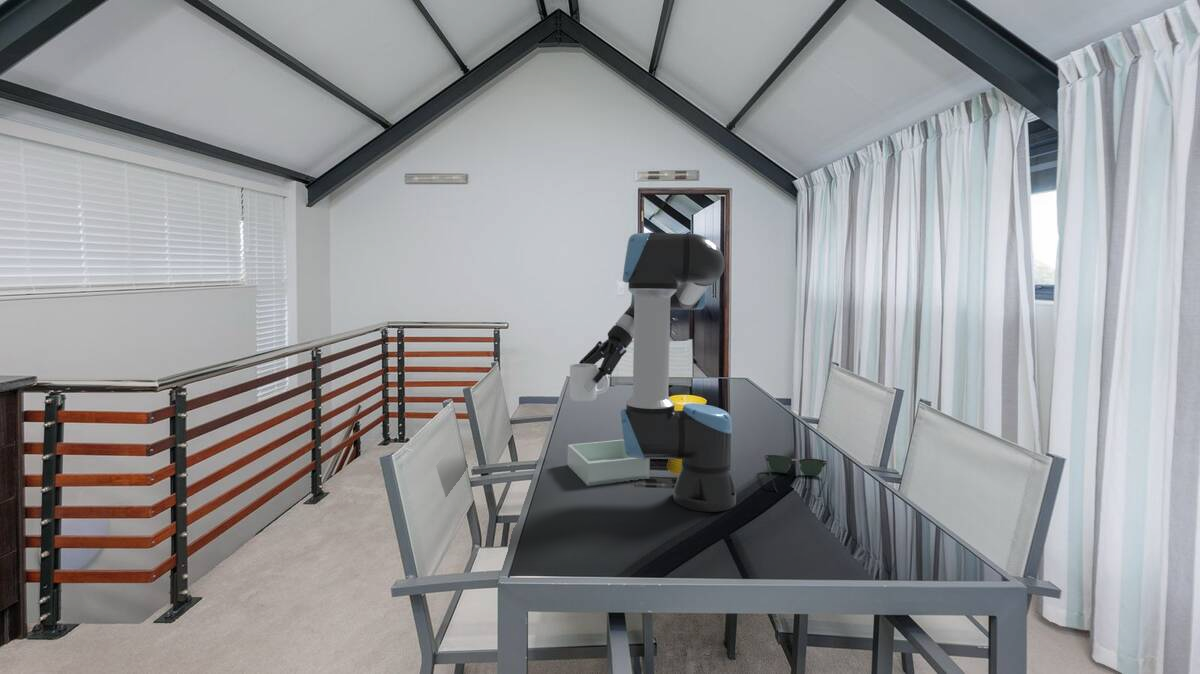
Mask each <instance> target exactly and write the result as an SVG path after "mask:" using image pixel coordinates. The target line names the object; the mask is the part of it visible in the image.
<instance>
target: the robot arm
mask: <svg viewBox="0 0 1200 674" xmlns="http://www.w3.org/2000/svg"><path fill="white" fill-rule="evenodd" d="M724 257H725V256H724V255H723V252H722V251H721V249H720V248H719V247H718V246H717V244H715V242H713V241H712V240H710V239H709V238H707V237H705V236H703V235H700V234H697V233H690V232H689V233H678V232H677V233H672V232H642V233H641V232H639V233H634V234H631V235H630V236H629V238H628V241H627V246H626V253H625V259H624V266H623V272H622V273H623V275H622V281H623V282H624V283H626V284H627V283H628V291H629V293H631V300H630V301H631V302H630V305H629V307H628V308H627V309H626V310H625V312H624V313H623V314H622V315H621V316H620V317H619V318H618V320H617V321H616V322H615V324H614V325H613V326H612V327H611V329H609V331H608V332H607V337H608V338H607V339H606V340H605V341H604V342H602V340H599V341H598V342H596V344H595V346H594V347H593V348H591V350H590V351H589V352H587V354H586V355H585V356H584V357H583V358H581V359H580V360H579V362H578V364H595V365H596V363H598V362H599V361H600V360H602V359H603V360H602V362H601V364H600V366H599V367H597V370H596V371H595V372H594V374H593V375H592V376H591V377H590V379H589V380H588V381H587V382H586V383H585V385H584V386H583V387H584V388H585V389H586V390H587V391H588V392H591V391H592V389H593V388H594V387H595V386H596V384H597V385H598V384H599V382H600V381H601V380H602V378H603V376H605V375H607V376H610V375H611V374H613V372H614V370H615V368H616V367H617V365H618V364H619V362H620V360H621V359H622V357H623V356H624V355H625V354H626V353H627V352H628V351H627V350H628V349H627V348H628V347H629V345H631V343H632V342H633V365H632V367H633V369H632V373H633V374H632V375H633V376H632V396H631V397H630V398H629V399H628V400H627V401H626V403H625V405H626V408H623V409H621V410H620V419H621V429H622V438H623V439H624V447H625V453H626V454H627V455H628V456H629V457H631V458H643V459H650V460H653V459H656V460H658V459H660V460H662V459H663V460H666V459H667V460H681V468H680V471H679V473H678V476H677V479H676V482H675V485H674V487H673V500H674V502H675V503H676V504H677V505H678V506H681V507H683V508H686V509H688V510H692V511H698V512H706V513H713V512H714V513H716V512H724V511H728V510H730V509H732V508H734V507H735V506H736V505H737V504H736V503H737V492H736V487H735V485H734V482H733V477H732V474H731V450H732V449H731V447H732V446H731V445H732V434H733V429H732V417H731V415H730V413H729V412H727V411H726V410H724V409H722V408H719V407H718V406H715V405H710V404H709V405H708V404H703V403H697V402H696V403H695V402H692V403H685V404H684V405H683V406H682V408H681V409H682V410H675V402H674V401H673V400H672V399H671V398H670V397H669V383H670V382H669V380H670V379H669V378H670V375H669V374H670V333H671V332H670V330H671V328H670V327H671V310H689V311H695V310H703V309H704V308H705V307H706V302H707V290H708V288H709V287H710V286H712V285H714V284H715V283H717V282H718V281H719V280H720V278H721V277H722V275H723V273H724V269H725V258H724ZM598 370H599V371H598ZM568 383H570V379H569V380H568Z"/></svg>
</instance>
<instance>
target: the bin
mask: <svg viewBox="0 0 1200 674" xmlns="http://www.w3.org/2000/svg"><path fill="white" fill-rule="evenodd" d="M566 463H567V466H568V468H570V469H571V470H572V471H573V473H575V474H576V475H577V476H578V477H579V478H580V479H581V480H582V481H583V483H585V485H586V486H588V487H591V486H600V485H607V484H616V482H617V483H622V482H624V481H625V482H631V481H630V480H633V481H640V480H639V479H641V480H647V479H650V468H651V467H650V464H651V459H643V458H631V457H629V456H628V455H627V454H626V453H625V447H624V438H623V439H615V440H603V441H593V442H592V441H591V442H582V443H571V444H567V462H566Z"/></svg>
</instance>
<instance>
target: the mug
mask: <svg viewBox="0 0 1200 674" xmlns="http://www.w3.org/2000/svg"><path fill="white" fill-rule="evenodd" d="M596 370H598V365H597V364H596V363H595V364H580V363H573V364H570V365H569V380H570V382H569V398H570V400H572V401H575V402H592V401H595V400H596V399H597V397H598V395H601V394H604V393H606V392H607V390H609V386H610V379H609V375H608V374H607V375H605V376H603V377H602V378H603V380H604V385H603V387H602V388H600V389H598V383H597V384H596V386H595V387H594V388H593V389H592V391H591V392H588V391H587V390H586V389H585V388H584V387H583V386H584V385H585V383H586V382H587V381H588V380H589V379H590V377H591V376H592V375H593V374H594V372H595V371H596ZM598 371H599V370H598Z"/></svg>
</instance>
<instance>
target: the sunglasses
mask: <svg viewBox="0 0 1200 674" xmlns="http://www.w3.org/2000/svg"><path fill="white" fill-rule="evenodd" d="M764 458H765V459H764V460H765V462H766V466H767V470H768V473H769V476H770V479H771V481H772V484H773V487H774V491H776V493H778V490H777V487H776V484H775V482H774V479H773V476H772V473H780V474H781V473H782V474H786V473H787V472H788V471H789V470H790V469H791V463H792V461H797V462H798V463H799V465H800V466H799V470H800V471H801V473H802V475H804V476H814V477H818V476H819V475H820V474H821V473H822V471H823V468H824V467H825V477H824V482H823V484H822V487H821V488H820V491H819V494H818V495H817V496H818V497H820V496H821V493H822V491H823V488H824V487H825V484H826V481H827V476H828V475H827V474H828V464H827V463H828V461H827V460H824V459H819V458H811V457H807V458H801V459H798V458H790V457H787V456H784V455H779V454H778V455H777V454H765V455H764ZM771 471H772V473H771Z"/></svg>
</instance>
